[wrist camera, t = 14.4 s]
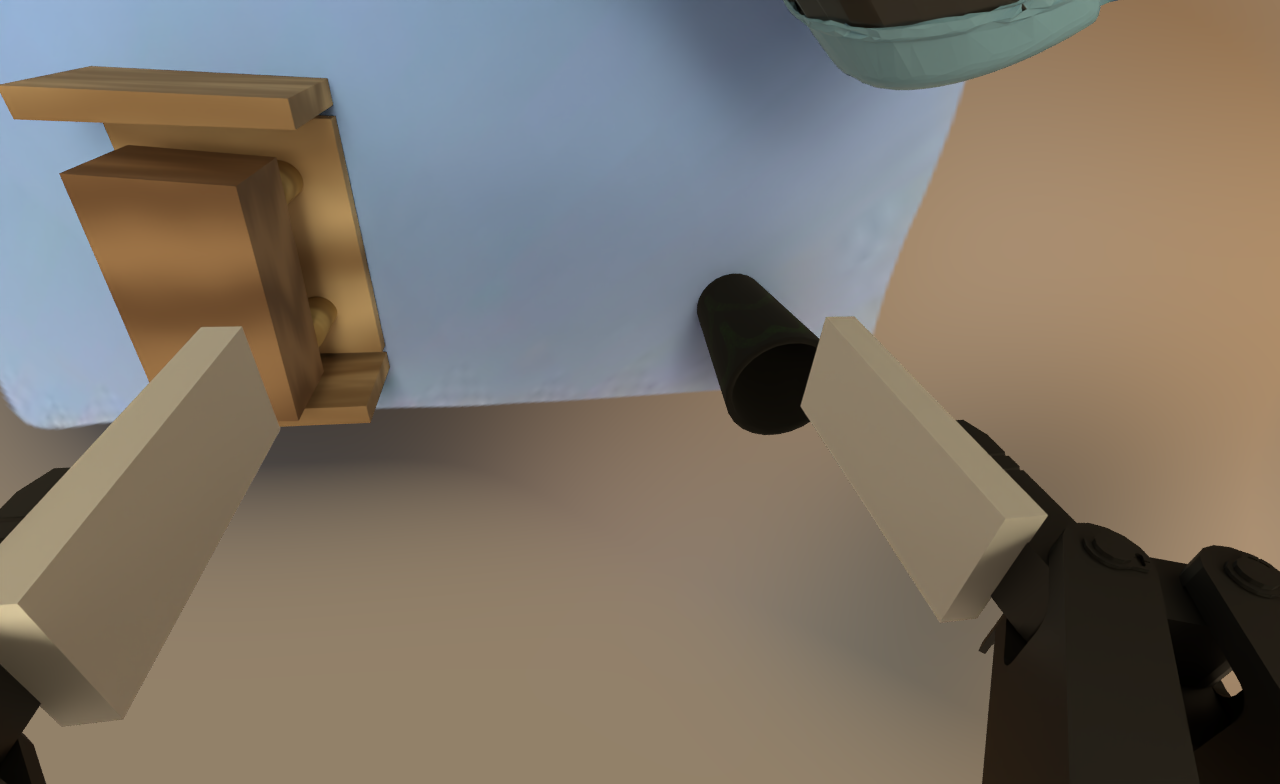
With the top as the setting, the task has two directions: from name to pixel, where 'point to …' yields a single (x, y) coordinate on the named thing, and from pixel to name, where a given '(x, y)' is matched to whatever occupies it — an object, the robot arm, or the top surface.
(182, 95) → the stand
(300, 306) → the brown wooden block
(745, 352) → the cup
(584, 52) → the top surface
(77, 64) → the top surface
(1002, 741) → the robot arm
